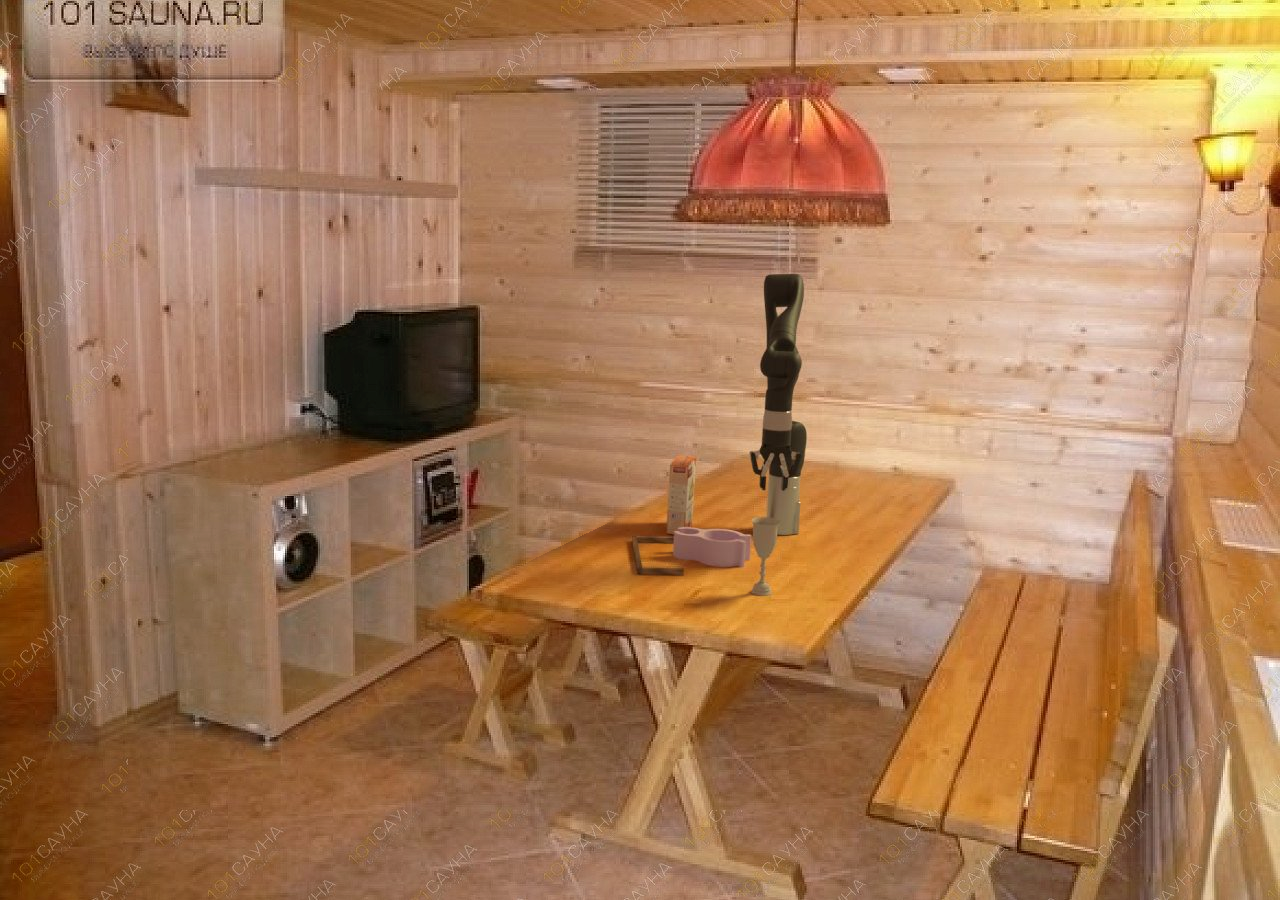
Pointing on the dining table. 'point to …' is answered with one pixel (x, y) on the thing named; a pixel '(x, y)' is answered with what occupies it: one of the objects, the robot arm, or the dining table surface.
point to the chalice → (764, 548)
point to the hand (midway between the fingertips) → (773, 489)
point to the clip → (712, 546)
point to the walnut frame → (646, 569)
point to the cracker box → (681, 493)
